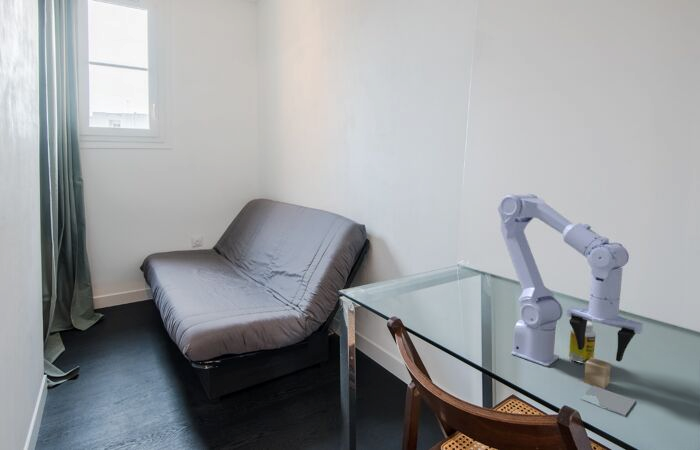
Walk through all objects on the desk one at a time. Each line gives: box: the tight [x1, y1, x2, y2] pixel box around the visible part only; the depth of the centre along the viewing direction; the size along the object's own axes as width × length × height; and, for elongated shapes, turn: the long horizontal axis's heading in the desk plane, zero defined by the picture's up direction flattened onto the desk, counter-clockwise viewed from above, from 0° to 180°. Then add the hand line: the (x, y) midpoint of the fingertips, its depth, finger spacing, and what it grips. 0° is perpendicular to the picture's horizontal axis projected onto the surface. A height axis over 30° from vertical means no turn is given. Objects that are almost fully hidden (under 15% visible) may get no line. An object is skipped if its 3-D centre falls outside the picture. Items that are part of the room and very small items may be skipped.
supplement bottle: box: [568, 321, 597, 365], centre depth 100 cm, size 6×6×10 cm
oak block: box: [583, 357, 612, 390], centre depth 89 cm, size 4×4×5 cm
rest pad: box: [584, 385, 637, 417], centre depth 82 cm, size 8×8×1 cm
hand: (599, 354), depth 88 cm, fingers open, 7 cm apart
